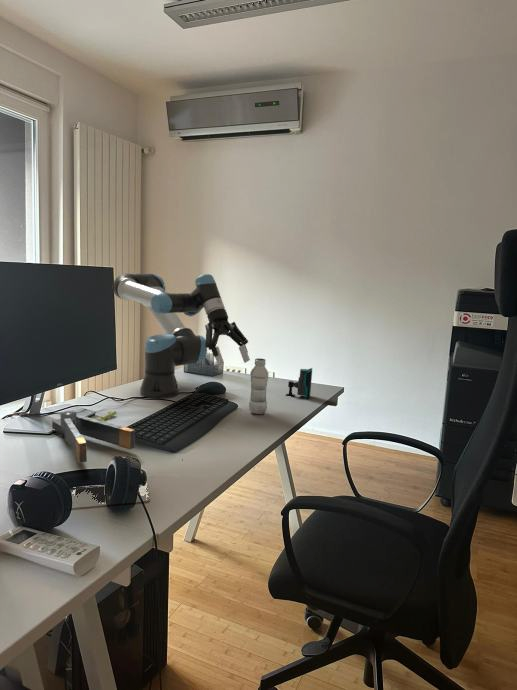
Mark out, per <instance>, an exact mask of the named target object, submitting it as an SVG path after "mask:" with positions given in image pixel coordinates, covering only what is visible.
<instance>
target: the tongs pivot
mask: <svg viewBox="0 0 517 690" xmlns="http://www.w3.org/2000/svg"><path fill="white" fill-rule="evenodd" d="M77 416H78V415H77V411H74V410H67V411H62V412H61V413H60V419H59V418H58V419H53V420H52V421H51V422H52V423H51V424H52V426H51V428H53V429H55V431H56V432H55V431H54V432H55V433H56V434H58V435H60V438H61V439H65V440H67V439H66V438H65V436H64V419H67V418H70V419H71V421H72V422H73V424H74V425H75V427H76V417H77Z"/></svg>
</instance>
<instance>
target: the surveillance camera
mask: <svg viewBox="0 0 517 690" xmlns="http://www.w3.org/2000/svg"><path fill="white" fill-rule="evenodd" d="M312 378H313V367H311V368H308V369H307V368H300V369H299V377H298V381H296V382H294V381H293V380H292V381H291V380H289V381H288V389H289V391H288V393H286V394H285V397H286V396H291V397H290V398H295V396H296V394H294V393H293V388H296V389H297V395H298V396H303V397H304V398H305V399H307V398H310V399H311V393H312V392H311V389H312Z"/></svg>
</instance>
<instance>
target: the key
mask: <svg viewBox="0 0 517 690" xmlns="http://www.w3.org/2000/svg"><path fill="white" fill-rule="evenodd" d="M115 415H117V411H116V410H114V411H111V410H109V411H107V414H105V415H104V416H99V418H98V417H91V418H92V419H96V420H99V421H103V422H106V421H105V420H107V419H110V418H111V417H113V416H115Z"/></svg>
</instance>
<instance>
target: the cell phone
mask: <svg viewBox="0 0 517 690" xmlns="http://www.w3.org/2000/svg"><path fill="white" fill-rule="evenodd" d="M147 485H148V483H146V485H145V486H141V487H140V488H139V492H140V495H141V496H144V495H145V494H146V498H147V497H149V498H150V495H149V496H148V495H147V494H148V493H149V491H148V492H146V491H147V490H146V488H147ZM100 486H101V485H100ZM85 487H86V488H87V487H89V486H85ZM86 488H83V489H82V488H80V489H78V490H77V489H75V490H73V492H72V494H74V496H75V495H77V494H78V493H79V494H80V493H81V492H83V491H84V490H85V489H86ZM147 489H148V490H149V487H148V488H147ZM88 490H89V491H88ZM87 491H88V493H89V492H90V491H91V493H93V494H92V495H95V497H96V495H97V494H98V495H97V497H96V498H95V497H93V496H92V497H93V498H94V500H95V499H97V500H98V503H99V502H100V501H101V502H100V503H102V504H104V503H105V495H104V486H103V487H102V486H101V487H99V488H98V487H89V488H87V489H86V491H85V492H87ZM88 493H87V494H88ZM77 497H78V496H77ZM93 498H92V499H93ZM97 500H96V501H97ZM146 500H147V499H146ZM100 503H99V504H100ZM105 504H106V503H105Z"/></svg>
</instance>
